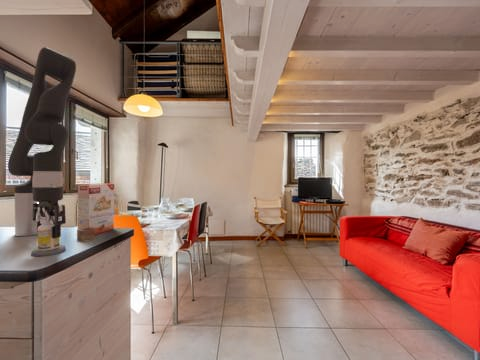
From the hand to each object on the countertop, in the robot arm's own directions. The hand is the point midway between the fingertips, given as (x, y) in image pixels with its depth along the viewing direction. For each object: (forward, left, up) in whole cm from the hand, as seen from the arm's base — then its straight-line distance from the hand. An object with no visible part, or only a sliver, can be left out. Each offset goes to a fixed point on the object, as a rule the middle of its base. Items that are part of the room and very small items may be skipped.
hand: (48, 236), depth 75 cm
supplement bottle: (0, 0, -4) cm, 4 cm away
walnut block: (-4, +14, -5) cm, 15 cm away
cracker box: (-11, +23, -5) cm, 26 cm away
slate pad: (0, 0, -5) cm, 5 cm away
